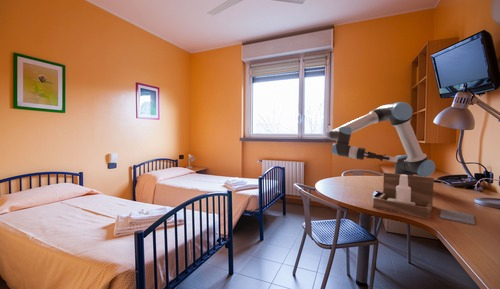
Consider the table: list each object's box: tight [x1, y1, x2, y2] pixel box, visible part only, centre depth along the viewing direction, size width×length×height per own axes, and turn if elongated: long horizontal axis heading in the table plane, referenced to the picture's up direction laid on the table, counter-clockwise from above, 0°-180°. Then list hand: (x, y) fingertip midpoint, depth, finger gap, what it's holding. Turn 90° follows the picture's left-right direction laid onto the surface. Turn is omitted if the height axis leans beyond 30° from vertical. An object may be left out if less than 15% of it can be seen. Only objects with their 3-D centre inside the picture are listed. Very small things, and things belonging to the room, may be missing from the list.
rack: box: [372, 172, 435, 220], centre depth 122 cm, size 23×24×16 cm
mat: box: [439, 208, 476, 226], centre depth 108 cm, size 14×12×1 cm
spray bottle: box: [396, 174, 411, 202], centre depth 122 cm, size 7×7×18 cm
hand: (397, 160), depth 127 cm, fingers open, 13 cm apart
